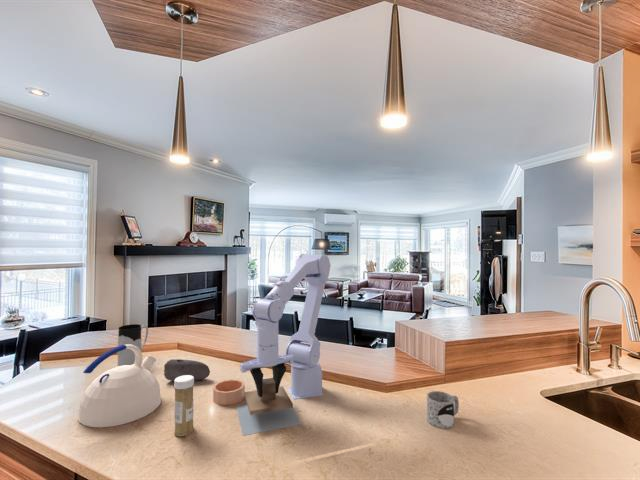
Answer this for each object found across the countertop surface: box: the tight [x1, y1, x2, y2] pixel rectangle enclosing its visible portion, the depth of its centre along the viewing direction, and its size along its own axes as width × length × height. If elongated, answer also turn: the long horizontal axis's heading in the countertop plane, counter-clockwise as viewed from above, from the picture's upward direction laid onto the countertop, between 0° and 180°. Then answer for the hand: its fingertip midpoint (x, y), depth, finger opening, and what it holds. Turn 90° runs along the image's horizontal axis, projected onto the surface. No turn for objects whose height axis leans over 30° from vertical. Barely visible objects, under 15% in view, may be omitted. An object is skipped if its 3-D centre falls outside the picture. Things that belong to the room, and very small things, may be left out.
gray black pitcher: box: [116, 324, 149, 367], centre depth 128 cm, size 9×14×15 cm, turn 171°
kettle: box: [77, 344, 162, 429], centre depth 94 cm, size 20×21×18 cm
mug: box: [426, 390, 460, 430], centre depth 87 cm, size 10×7×7 cm
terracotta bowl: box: [212, 378, 246, 406], centre depth 99 cm, size 9×9×4 cm
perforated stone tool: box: [163, 358, 211, 382], centre depth 113 cm, size 15×5×7 cm, turn 90°
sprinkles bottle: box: [173, 375, 195, 438], centre depth 82 cm, size 5×5×14 cm
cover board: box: [244, 377, 294, 415], centre depth 89 cm, size 11×11×6 cm
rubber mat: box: [236, 404, 303, 436], centre depth 89 cm, size 15×15×1 cm
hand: (267, 393), depth 89 cm, fingers closed on cover board, 4 cm apart
